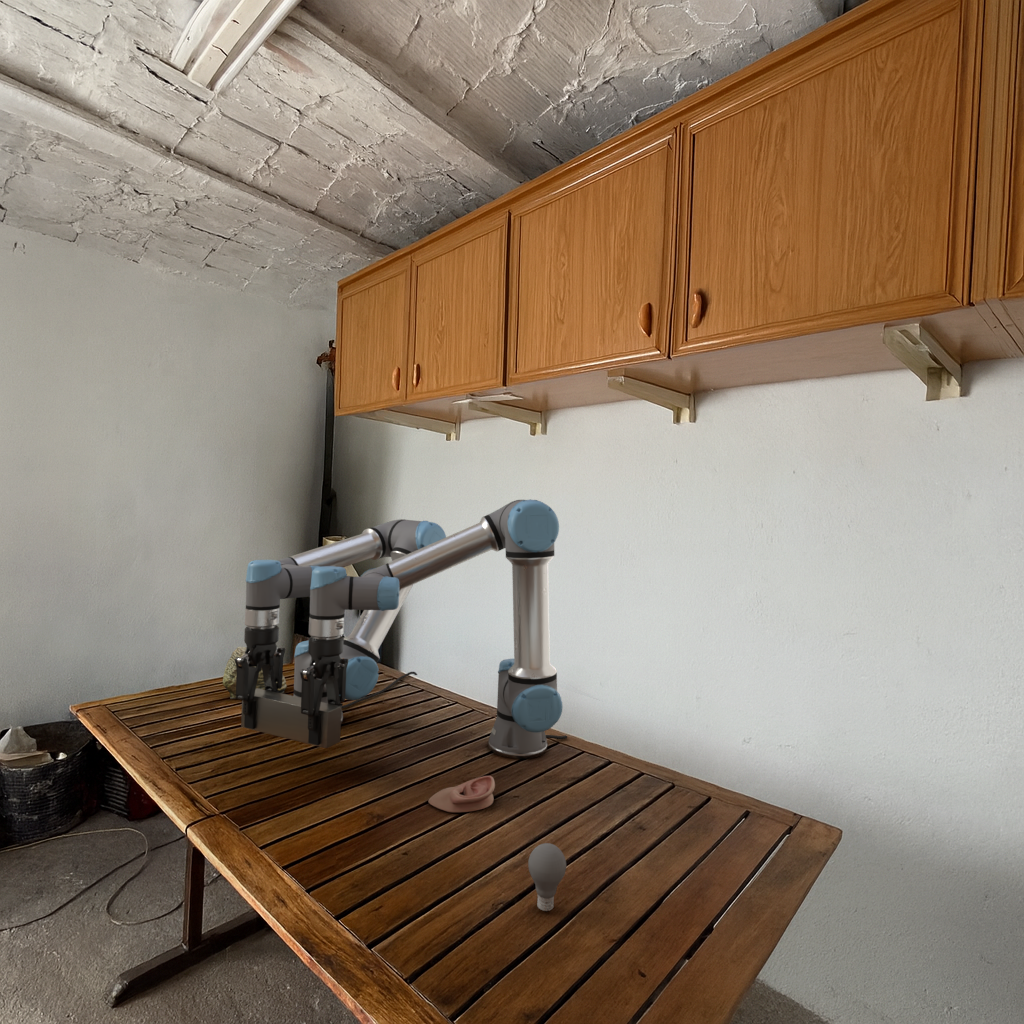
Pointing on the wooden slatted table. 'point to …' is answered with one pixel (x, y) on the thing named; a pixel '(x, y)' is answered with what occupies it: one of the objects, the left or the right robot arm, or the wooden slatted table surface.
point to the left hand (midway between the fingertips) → (258, 723)
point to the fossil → (231, 671)
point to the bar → (293, 718)
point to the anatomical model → (465, 796)
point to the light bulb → (546, 873)
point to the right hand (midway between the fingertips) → (322, 739)
